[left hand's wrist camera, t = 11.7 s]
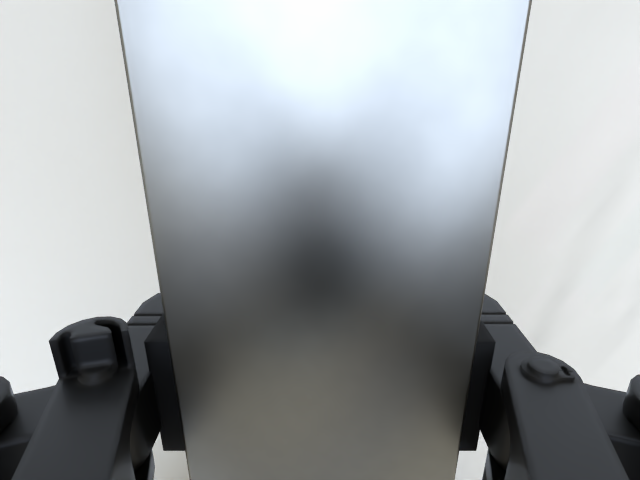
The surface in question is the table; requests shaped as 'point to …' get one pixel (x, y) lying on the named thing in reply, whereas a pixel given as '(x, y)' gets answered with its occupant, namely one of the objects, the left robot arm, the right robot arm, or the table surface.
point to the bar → (322, 222)
